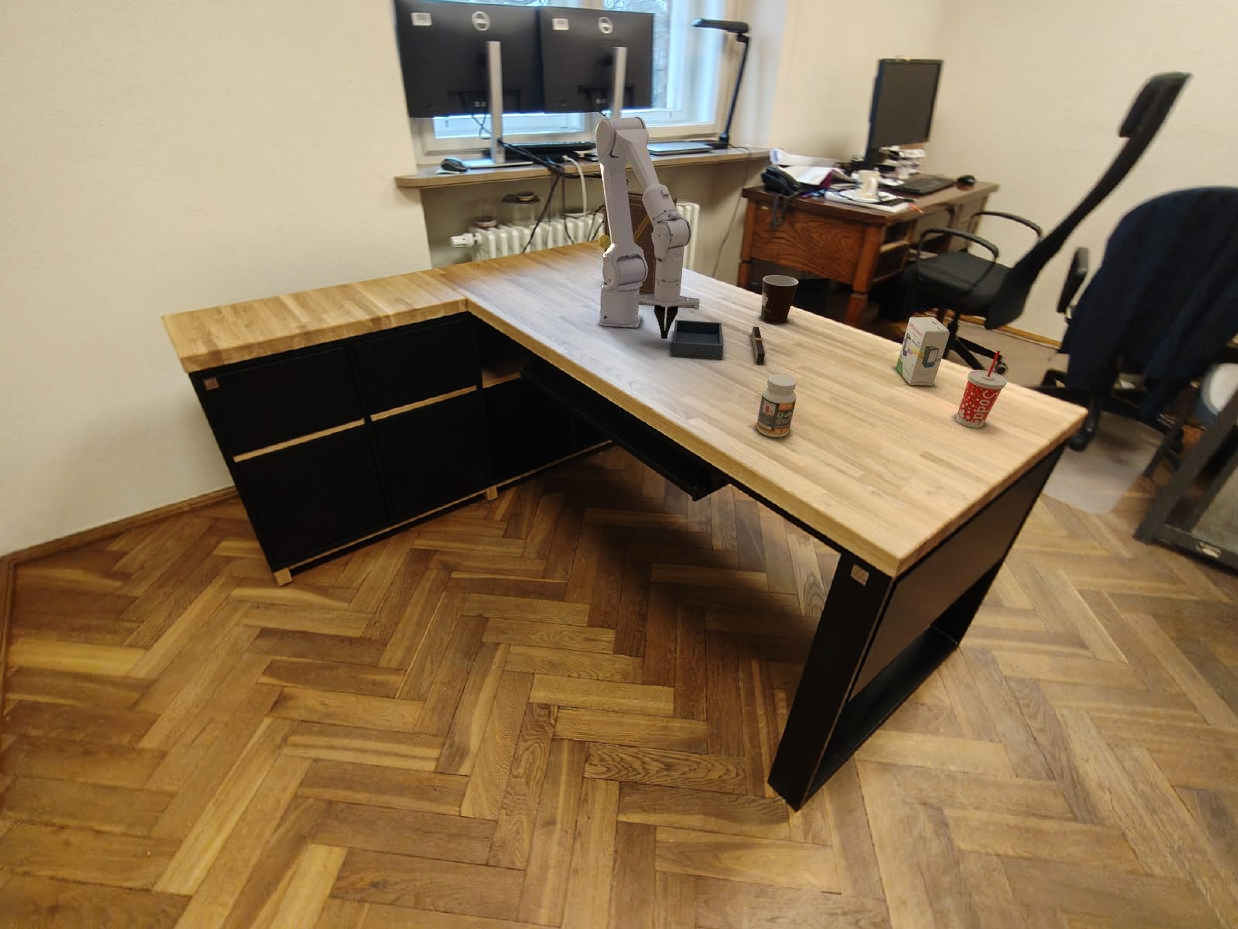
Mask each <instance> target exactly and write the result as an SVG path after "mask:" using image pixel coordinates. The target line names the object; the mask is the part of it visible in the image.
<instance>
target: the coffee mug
mask: <svg viewBox="0 0 1238 929" xmlns="http://www.w3.org/2000/svg"><path fill="white" fill-rule="evenodd" d="M798 285H799V280H798V279H796V278H794V277H791V276H788V275H779V274H771V275H766V276H764V277H763V278H762V290H761V310H760V320H761V321H762V322H764V323H768V324H773V325H782V324H785V323H786V322H787V321H788V316H789V314H790V311H791V307H792V305H793V301H794V298H795V294H796V292H797V288H798Z"/></svg>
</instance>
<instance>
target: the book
mask: <svg viewBox="0 0 1238 929" xmlns="http://www.w3.org/2000/svg"><path fill="white" fill-rule="evenodd" d="M627 191H628V200H629V208H630V216H631V224H632V232H633V240H634V243H635V244H636V245H638V246H639V247H640V248H641V249H642V250H643V254H644V258H645V261H646V263H647V266H648V274H647V278H646V279H645V281H643V282H642V286H640V289H639V295H649V294H654V292H655V274H656V256H655V254H654V244H653V241H652V232H653V230H654V227H653V225H652V223H651V220H650V218H649V216H648V213H647V211H646V208H645V206H644V204H643V201H642V197H643V194H644V192H641V191H640V192H639V191H633V190H632V191H631V190H627ZM671 198H672V201H673V203H674V205H675V208H676V209H677V205H678V198H677V197H674V196H671ZM598 245H599V247H600V248H602V249H604V250H603V251H604V253H603V255H604V254H605V252H606V251H607V250H608V249H609V248H610V246H611V238H610V231H609V223H608V216H607V208H606V201H605V200H604V231H602V232H601V233H600V234H599V236H598ZM627 257H630V256H628V255H627V256H621V257H619V258H618V259H621V258H627ZM603 285H607V284H606V283H605V281H604V280H603Z"/></svg>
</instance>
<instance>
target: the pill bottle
mask: <svg viewBox="0 0 1238 929" xmlns="http://www.w3.org/2000/svg"><path fill="white" fill-rule="evenodd" d="M766 385H767V387H765V388H764V389H763V391H762V395H761V400H760V405H759V408H758V409H759V410H758V416H757V421H756V429H757V431H758V432H759V433H761V434H763V435H765V436H767V437H770V438H781V437H784V436H787V435H788V434H789V432H790V429H791V423H792V420H793V416H794V410H795V408H796V407H795V406H796V403H797V402H796V401H797V394H796V391H795V389H796V386H797V380H796V378H794V377H793V376H791V375H788V374H783V373H774V374H771V375H769V376H768V379H767V383H766Z"/></svg>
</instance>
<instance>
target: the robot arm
mask: <svg viewBox="0 0 1238 929" xmlns="http://www.w3.org/2000/svg"><path fill="white" fill-rule="evenodd" d="M649 137H650V134H649V131H648V129H647V125H646V122H645V120H644V119H643V118H642V117H640V116H633V117H607V116H605V117H602V118H601V119H600V120H599V121H598V123H597V125H596V128H595V131H594V142H595V148H596V156H597V162H598V163H599V164H600V172H601V178H602V185H603V193H604V194H603V195H604V202H605V201H606V208H607V216H608V223H609V231H610V238H611V246H610V248H609V249H608V250H607V251H606V252H605V254H604V253H603V255H602V264H603V265H602V270H601V271H602V273H601V274H602V279H603V282H604V281H605V283H606V284H607V285H604V284H602V286H601V289H600V306H599V307H600V311H599V315H600V316H599V317H600V320H599V322H600V323H599V325H600V326H602V327H603V326H604V327H620V328H634V329H638V328H639V326H640V322H641V319H642V315H641V314H639V311H640V306H645V307H646V306H647V307H654V308H653V313H654V316H655V318H656V320H657V321H656V322H657V323H658V327H659V331H660V339H661V340H668V336H669V332H670V329H671V326H672V325H673V322H674V321H675V320H676V317H677V315H678V313H679V308H680V309H693V310H695V311H699V310H700V303H701V302H700V301H701V298H698V297H690V296H683V295H681V292H682V291H681V290H682V278H683V264H684V255H685V254H684V253H685V247H687V246H688V245H689V244H690V241H691V238H692V228H691V224H690V221H689V220H688V219H687V218H685V217H683V215H682V213H681V212H678V209H677V207H676V208H675V205H674V203H673V201H672V198H671V197H672V196H671V193H670V191H669V189H668V187H667V186H666V185H664V184H661V183H660V181H659V178H658V176H657V172H656V169H655V167H654V163H653V160H652V157H651V154H650V151H649V148H648V144H649ZM628 164H630V166H631V168H632V170H633V172H634V174H635V177H636V178H637V180H638V182H639V184H640V185H641V188H642V190H643V193H644V194H643V197H642V201H643V204H644V206H645V208H646V211H647V213H648V216H649V218H650V220H651V223H652V225H653V227H654V230H653V232H652V241H653V244H654V254H655V256H656V274H655V292H654V294H649V295H639V289H640V286H642V282H643V281H645V279H646V278H647V274H648V266H647V263H646V261H645V258H644V254H643V250H642V249H641V248H640V247H639V246H638V245H636V244H635V243H634V240H633V232H632V224H631V216H630V208H629V200H628V191H629V190H628V185H627V177H626V176H627V175H626V168H627V166H628ZM627 255H628V256H630V257H627V258H621V259H618V258H619V257H621V256H627Z"/></svg>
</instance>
